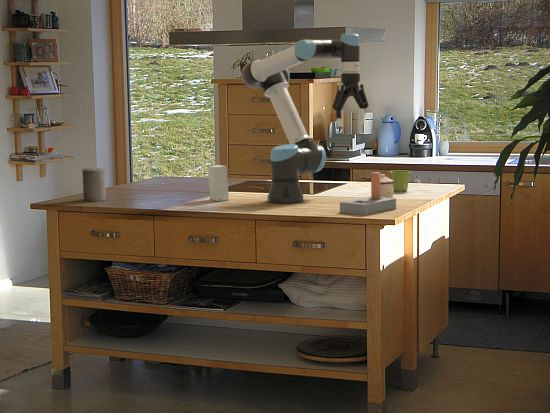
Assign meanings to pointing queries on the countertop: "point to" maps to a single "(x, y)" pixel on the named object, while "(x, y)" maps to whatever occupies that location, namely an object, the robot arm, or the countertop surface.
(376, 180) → the dowel
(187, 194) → the countertop surface
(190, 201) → the countertop surface
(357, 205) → the bore block
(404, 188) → the plant pot
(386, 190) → the teacup with lid
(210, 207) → the countertop surface
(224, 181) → the skincare box
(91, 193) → the pillar candle
